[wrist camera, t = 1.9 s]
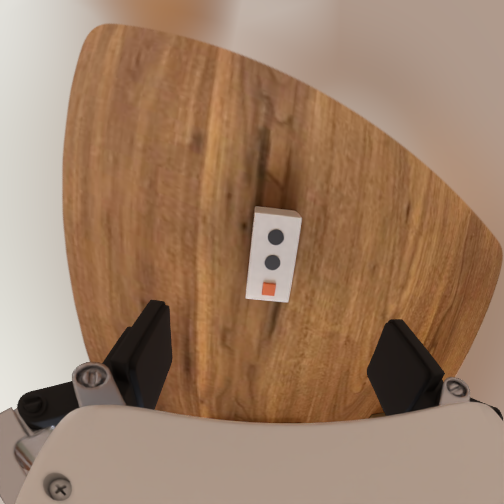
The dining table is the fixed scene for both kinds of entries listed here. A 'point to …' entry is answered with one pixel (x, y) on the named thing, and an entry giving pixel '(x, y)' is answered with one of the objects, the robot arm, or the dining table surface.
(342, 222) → the dining table surface
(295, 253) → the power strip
